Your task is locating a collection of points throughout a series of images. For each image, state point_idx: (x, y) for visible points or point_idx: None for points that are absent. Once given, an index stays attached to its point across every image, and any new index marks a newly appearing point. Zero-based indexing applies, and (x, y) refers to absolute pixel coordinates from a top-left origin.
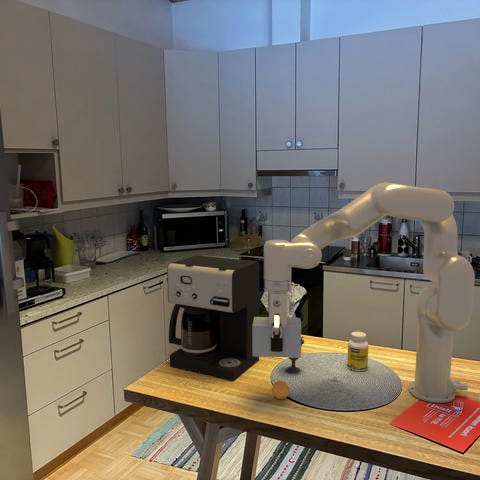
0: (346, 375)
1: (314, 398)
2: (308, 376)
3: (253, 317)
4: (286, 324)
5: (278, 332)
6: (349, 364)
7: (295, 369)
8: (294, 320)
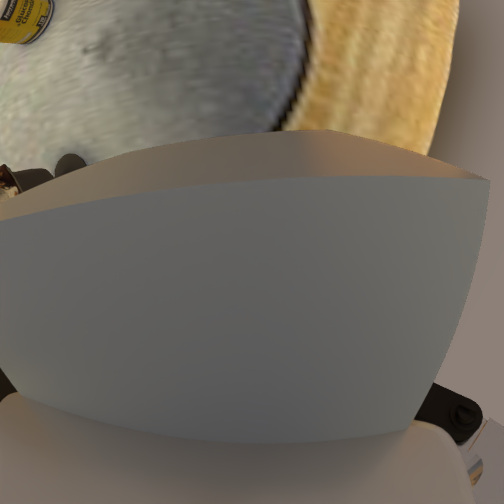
0: (73, 26)
1: (238, 80)
2: (92, 124)
3: (4, 379)
4: (460, 463)
5: (493, 423)
6: (34, 30)
7: (72, 170)
8: (37, 338)
